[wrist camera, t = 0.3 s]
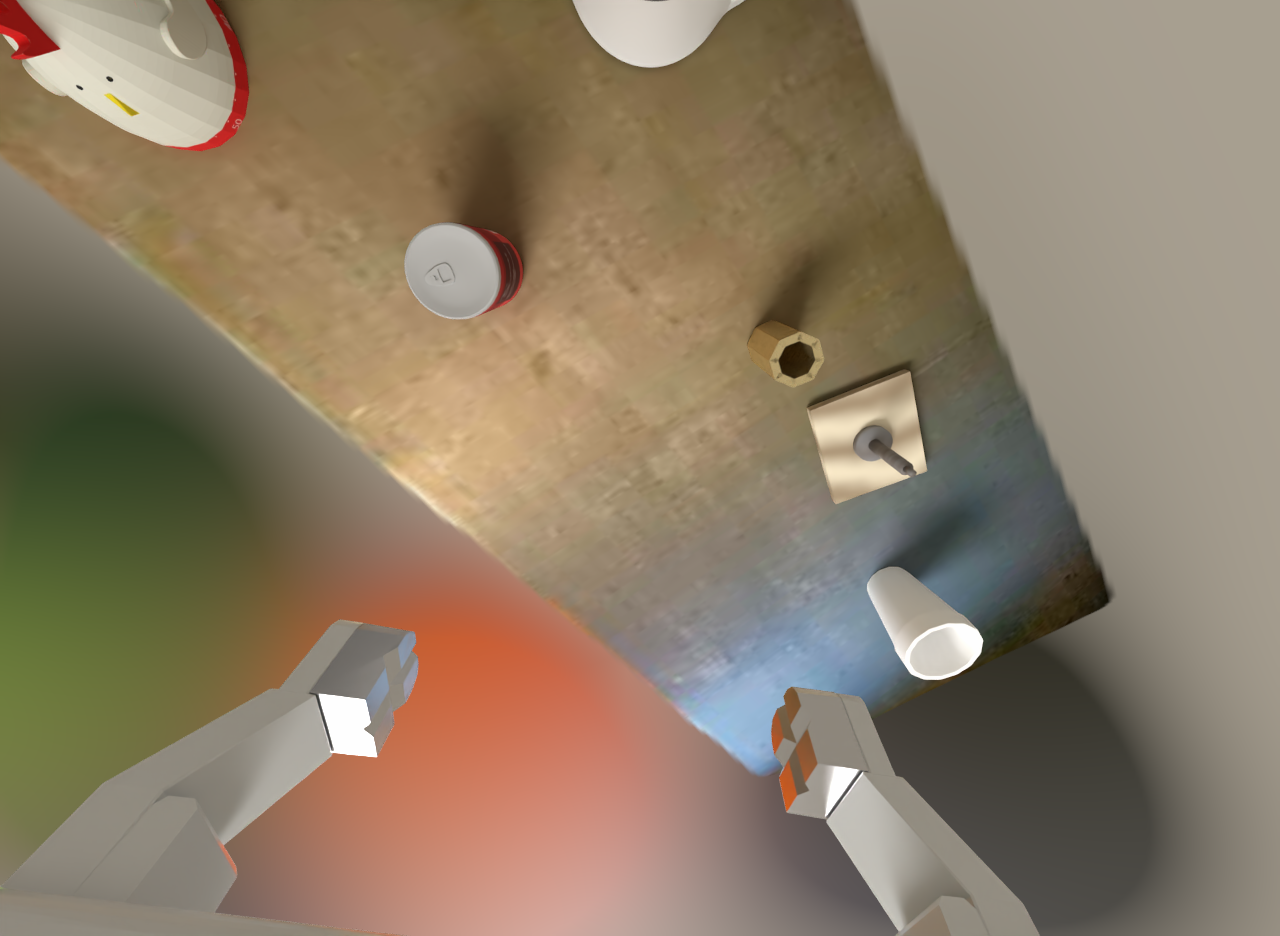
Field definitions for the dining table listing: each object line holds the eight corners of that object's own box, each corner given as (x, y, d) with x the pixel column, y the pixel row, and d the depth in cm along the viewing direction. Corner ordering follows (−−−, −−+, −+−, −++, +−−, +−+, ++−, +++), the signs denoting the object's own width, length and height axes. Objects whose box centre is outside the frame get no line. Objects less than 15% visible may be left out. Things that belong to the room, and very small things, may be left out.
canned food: (433, 258, 48) (383, 258, 38) (492, 212, 46) (456, 199, 36) (481, 322, 51) (447, 338, 41) (539, 280, 49) (517, 286, 39)
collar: (743, 332, 52) (764, 346, 44) (785, 314, 51) (815, 325, 43) (755, 372, 54) (779, 393, 46) (796, 355, 53) (827, 373, 45)
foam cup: (917, 603, 70) (976, 673, 58) (856, 613, 70) (903, 685, 58) (922, 552, 66) (987, 617, 54) (857, 563, 66) (907, 629, 54)
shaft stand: (806, 407, 56) (843, 438, 47) (904, 369, 55) (963, 392, 45) (832, 499, 62) (869, 543, 52) (921, 467, 60) (977, 506, 51)
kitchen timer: (144, 166, 44) (-70, 125, 30) (36, -25, 38) (-287, -179, 25) (279, 130, 43) (120, 72, 30) (189, -70, 38) (-59, -256, 24)
